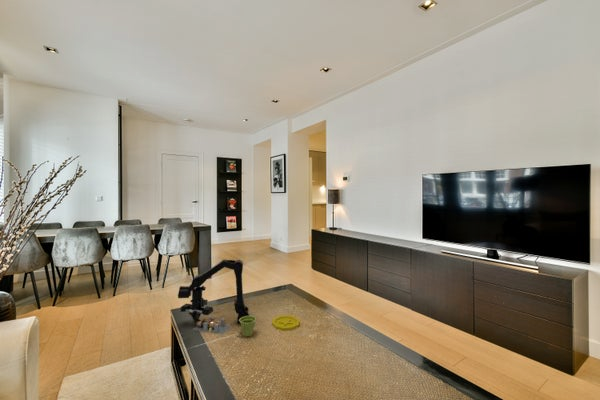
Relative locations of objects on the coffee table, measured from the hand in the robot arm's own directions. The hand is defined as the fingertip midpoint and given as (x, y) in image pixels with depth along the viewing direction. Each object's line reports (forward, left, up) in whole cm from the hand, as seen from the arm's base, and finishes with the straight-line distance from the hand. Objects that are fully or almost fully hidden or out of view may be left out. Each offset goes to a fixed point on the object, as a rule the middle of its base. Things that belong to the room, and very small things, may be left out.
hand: (196, 323), depth 160 cm
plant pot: (-33, -1, -3) cm, 33 cm away
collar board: (-11, 0, -3) cm, 11 cm away
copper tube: (-8, 0, -1) cm, 8 cm away
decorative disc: (-51, -19, -3) cm, 54 cm away
